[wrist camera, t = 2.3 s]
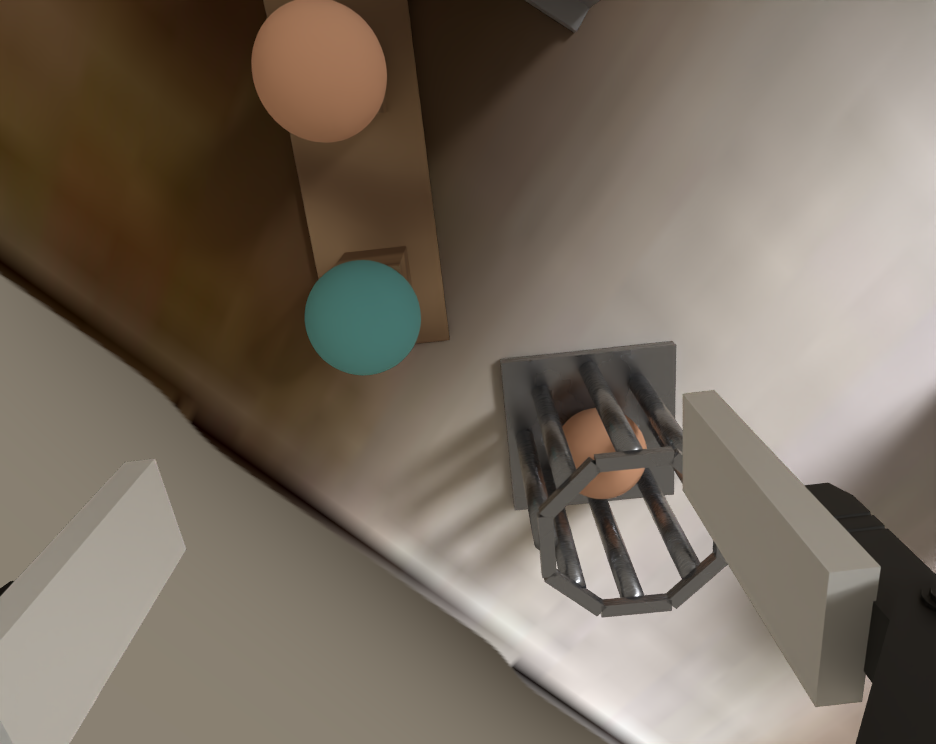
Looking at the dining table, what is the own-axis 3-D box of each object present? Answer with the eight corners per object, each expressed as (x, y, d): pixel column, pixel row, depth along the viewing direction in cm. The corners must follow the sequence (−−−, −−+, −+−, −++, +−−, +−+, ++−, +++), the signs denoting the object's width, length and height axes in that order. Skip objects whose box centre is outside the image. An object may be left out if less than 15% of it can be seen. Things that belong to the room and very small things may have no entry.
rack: (265, -2, 28) (230, -22, 23) (405, -19, 28) (396, -41, 23) (334, 349, 34) (316, 384, 29) (449, 337, 34) (448, 371, 29)
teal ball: (307, 255, 28) (280, 282, 23) (415, 243, 27) (408, 268, 23) (327, 356, 29) (306, 399, 25) (429, 345, 29) (425, 386, 25)
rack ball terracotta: (259, 15, 24) (217, -5, 20) (382, 0, 24) (366, -23, 20) (285, 145, 26) (251, 153, 22) (400, 132, 26) (389, 138, 21)
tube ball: (546, 397, 34) (559, 438, 30) (633, 388, 34) (658, 428, 30) (551, 472, 36) (564, 521, 32) (634, 464, 36) (658, 512, 32)
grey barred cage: (500, 359, 34) (517, 453, 25) (672, 341, 34) (753, 429, 25) (514, 504, 38) (533, 634, 28) (670, 488, 37) (741, 614, 28)
